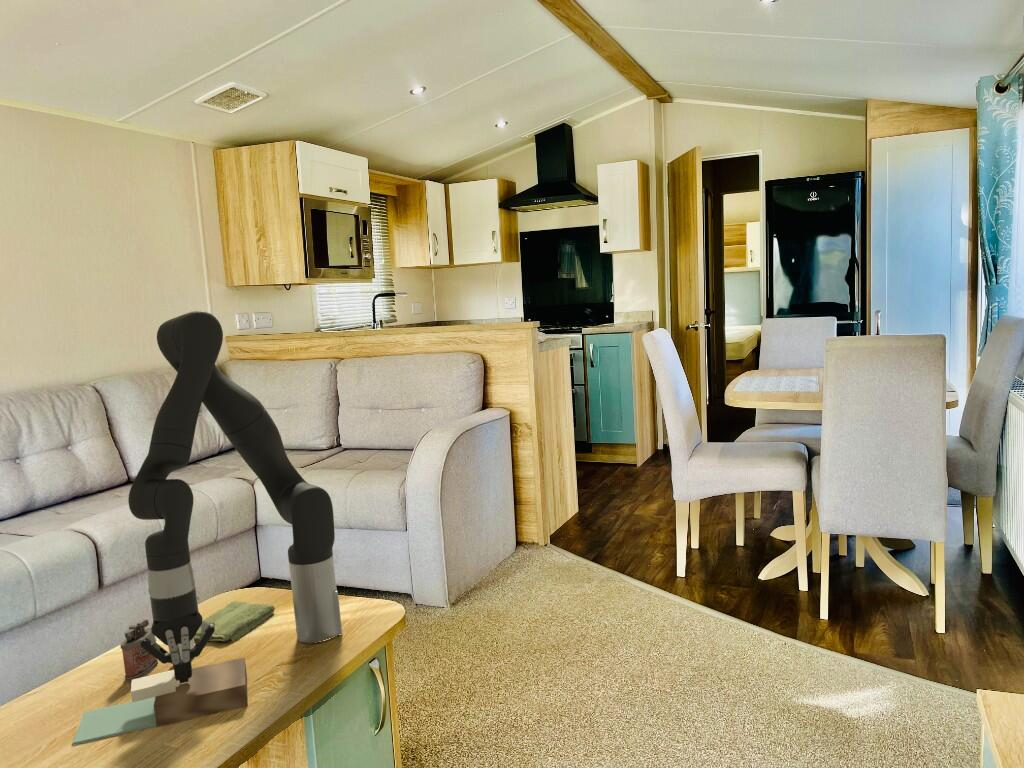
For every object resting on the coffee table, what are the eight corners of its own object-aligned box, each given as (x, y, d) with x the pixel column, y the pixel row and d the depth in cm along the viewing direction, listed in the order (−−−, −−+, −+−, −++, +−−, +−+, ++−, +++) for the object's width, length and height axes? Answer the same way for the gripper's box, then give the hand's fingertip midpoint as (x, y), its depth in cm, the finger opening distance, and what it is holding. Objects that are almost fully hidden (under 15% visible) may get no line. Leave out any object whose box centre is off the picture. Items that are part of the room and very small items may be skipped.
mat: (162, 696, 143) (162, 694, 143) (156, 725, 133) (156, 723, 133) (84, 713, 139) (84, 711, 139) (72, 745, 129) (72, 742, 128)
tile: (175, 679, 141) (174, 669, 141) (175, 691, 136) (174, 680, 136) (133, 690, 138) (131, 679, 138) (132, 702, 133) (130, 691, 133)
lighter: (135, 682, 150) (129, 633, 149) (120, 681, 151) (114, 633, 150) (162, 662, 158) (156, 616, 157) (147, 662, 158) (141, 616, 157)
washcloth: (180, 642, 168) (179, 628, 168) (235, 610, 185) (233, 597, 184) (229, 647, 164) (227, 633, 163) (280, 614, 180) (278, 601, 180)
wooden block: (247, 676, 148) (244, 657, 148) (247, 705, 137) (245, 684, 137) (162, 695, 144) (160, 675, 143) (156, 727, 132) (153, 705, 132)
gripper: (212, 575, 143) (223, 663, 145) (134, 589, 138) (146, 680, 140) (211, 588, 136) (222, 681, 138) (129, 603, 131) (142, 699, 133)
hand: (184, 680), depth 139 cm, fingers closed
